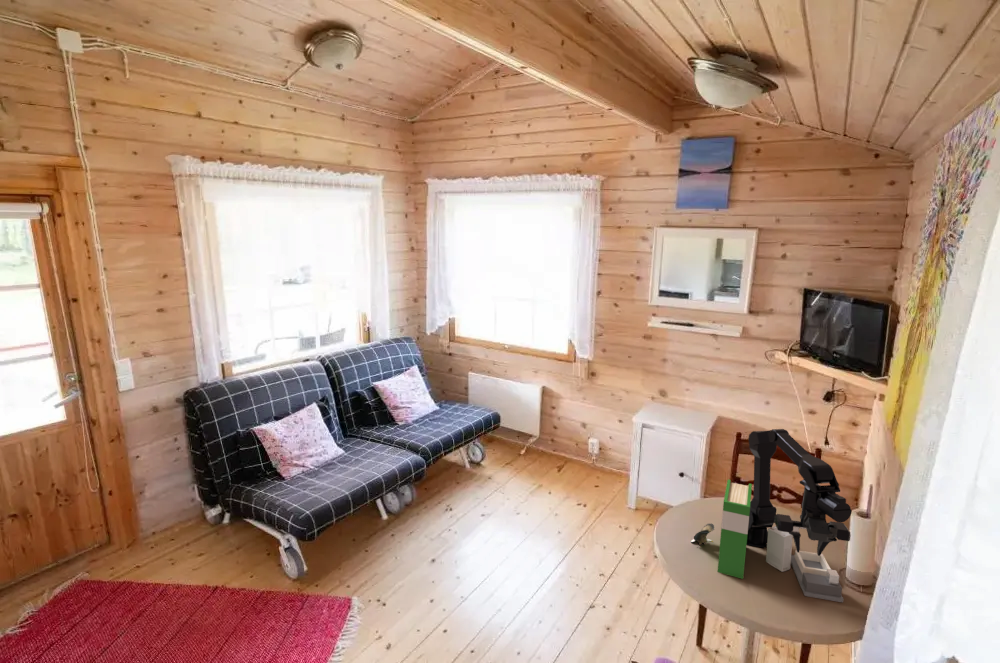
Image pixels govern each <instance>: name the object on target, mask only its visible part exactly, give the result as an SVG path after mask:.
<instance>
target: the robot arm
mask: <svg viewBox="0 0 1000 663" xmlns="http://www.w3.org/2000/svg"><path fill="white" fill-rule="evenodd" d="M748 448H749V450H750V451H751V453H752V455H753V457H754V459H753V460H754V461H753V495H752V496H753V497H752V498H751V502H750V514H749V524H748V534H747V544H746V546H750V547H751V546H752V547H760V548H765V549H767V540H768V529H769V528H772V527H774V525H775V526H776V527H777V529H778V530H779V531H783V532H789V534H790V535H793V539H792V540H793V542H794V545H795V550H797V552H798V553H799V551H801V550H800V549H801V536H802V534H801V533H800V529H801V530H806V533H807V537H808V539H810V541H817V547H816V553H817V554H818V556H820V555H821V554H823V551H824V550H825V548H827V546H828V545H829V544H830V543H831V542H837V540H839V541H844V542H850V541H851V536H852V534H851V531H850V530H849V529H848V527H847V526H846V524H845V523H844V522H846V521H848V519H850V517H851V514H852V509H851V505H849V503H847V499H846V497H844V496H841V495H839V494H837V493H841V489H840V484H839V482H838V480H837V477H836V474H835V471H834V469H833V467H832V466H831V465H830V464H829V463H827V462H826V461H825V460H823V459H821V458H819V457H816V456H813V455H812V454H811V453H809V451H807V450H806V449H805V448H804V447H803V446H802V445H801V444H800V443H799V442H798V441H797V440H795V439H794V438H793V436H791V435H790V433H789V431H788V430H787V429H784V428H772V429H770V430H753V431H751V432H750V433H749V434H748ZM777 448H779V449H780V450H782V452H783V453H784V454H786V456H787V457H789V459H790V460H791V461H792V462H793V463H794V464H795V465H796V466H797V471H798V474H799V476H801V478H802V480H800V481H799V484H800V485H802V486H804V488H803V498H802V501H801V513H800V515H799V518H800V521H798V520H792V518H791V516H790V515H788V514H780V513H777V508H776V506H774V505H773V503H772V502H771V495H770V494H771V468H772V467H771V466H772V465H771V461H772V460H771V459H772V457H773V456H774V454H775V453H776V452H777ZM821 484H827V485H821ZM826 516H828V517H829V518H830V519H832V520H833V521H829V522H827V519H826V518H827V517H826Z"/></svg>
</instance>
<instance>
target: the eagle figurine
mask: <svg viewBox="0 0 1000 663" xmlns="http://www.w3.org/2000/svg"><path fill="white" fill-rule="evenodd" d="M714 530H715V524H713V523H707V524H705V525H704V526H703V527H702V528H701V530H700V531H698V532H696V533H695V535H694V536H693V538H692V539H691V541H690V543H694V542H698V546H699V547H700V548H702V547H703V546H705V544H706V543H707V544H708V543H714V541H713V540H712V539H709V538H707V535H708V534H710V533H711V532H713V531H714ZM699 547H696V549H698V548H699Z"/></svg>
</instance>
